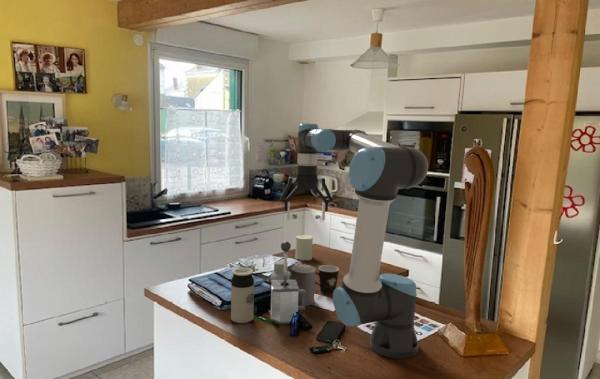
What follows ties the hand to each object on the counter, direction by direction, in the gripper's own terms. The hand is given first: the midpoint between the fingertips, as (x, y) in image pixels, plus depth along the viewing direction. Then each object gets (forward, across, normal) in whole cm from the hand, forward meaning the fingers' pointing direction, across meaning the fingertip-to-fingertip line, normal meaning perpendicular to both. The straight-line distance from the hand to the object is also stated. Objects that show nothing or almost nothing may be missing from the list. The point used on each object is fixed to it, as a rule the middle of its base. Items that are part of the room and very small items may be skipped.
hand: (305, 219), depth 165 cm
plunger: (+23, +9, +14) cm, 28 cm away
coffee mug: (+34, -10, -12) cm, 37 cm away
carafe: (+34, +7, +13) cm, 37 cm away
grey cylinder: (+34, 0, -2) cm, 34 cm away
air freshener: (+34, +8, -21) cm, 40 cm away
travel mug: (+34, +24, +13) cm, 43 cm away
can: (+33, -7, -58) cm, 67 cm away
